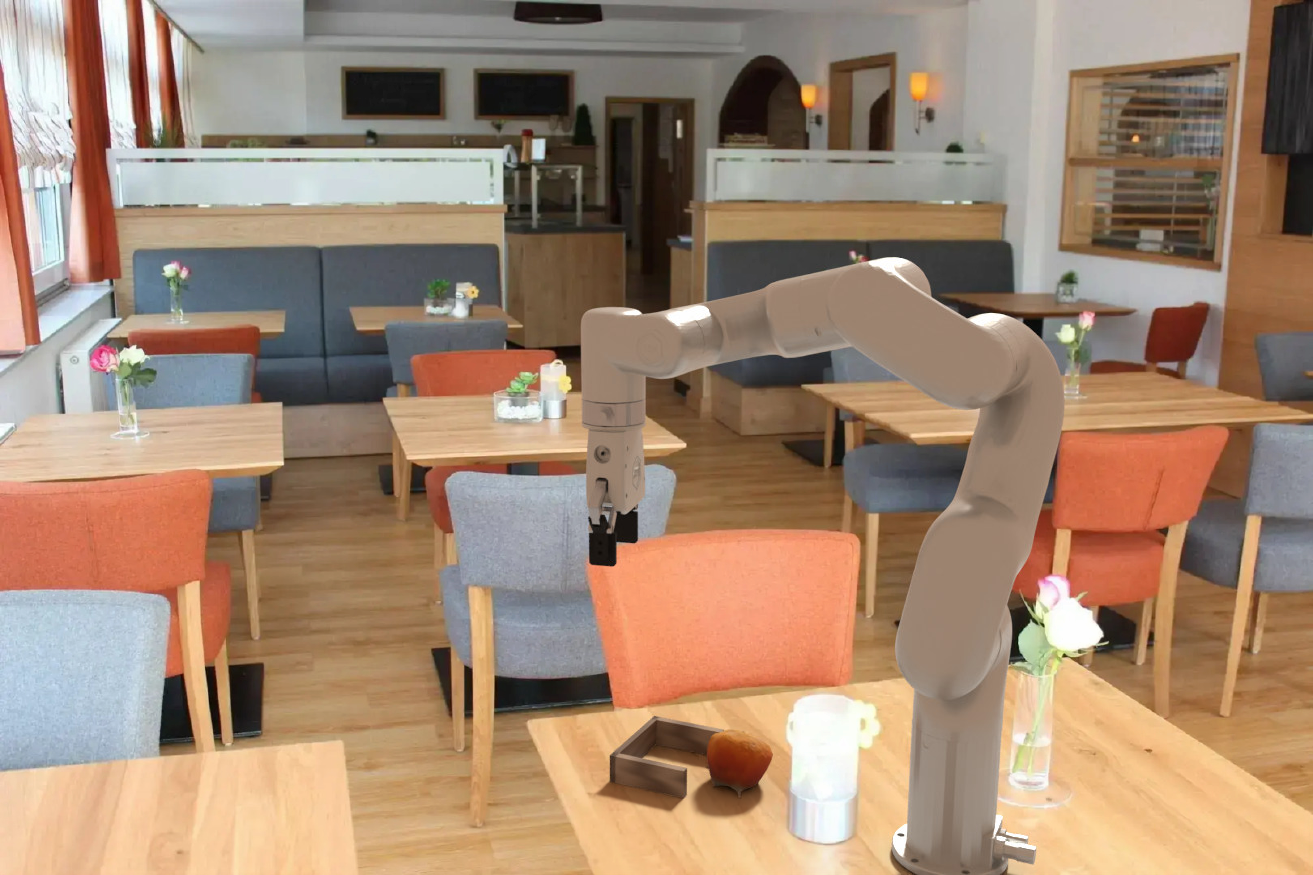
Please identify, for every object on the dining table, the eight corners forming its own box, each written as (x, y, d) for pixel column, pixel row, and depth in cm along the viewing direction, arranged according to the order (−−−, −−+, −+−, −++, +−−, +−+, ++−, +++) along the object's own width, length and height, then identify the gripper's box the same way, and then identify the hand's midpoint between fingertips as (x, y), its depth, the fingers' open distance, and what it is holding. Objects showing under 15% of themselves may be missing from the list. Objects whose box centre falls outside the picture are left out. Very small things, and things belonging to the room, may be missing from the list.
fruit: (687, 784, 156) (703, 719, 158) (711, 792, 163) (725, 729, 165) (748, 799, 152) (763, 732, 154) (770, 807, 159) (784, 742, 161)
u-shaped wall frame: (723, 754, 167) (724, 729, 166) (683, 798, 155) (683, 771, 155) (654, 740, 171) (654, 715, 170) (609, 781, 160) (609, 755, 159)
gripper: (624, 429, 142) (625, 577, 146) (662, 402, 159) (661, 536, 162) (560, 425, 144) (562, 572, 147) (603, 399, 160) (604, 532, 164)
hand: (614, 553), depth 155 cm, fingers open, 9 cm apart
